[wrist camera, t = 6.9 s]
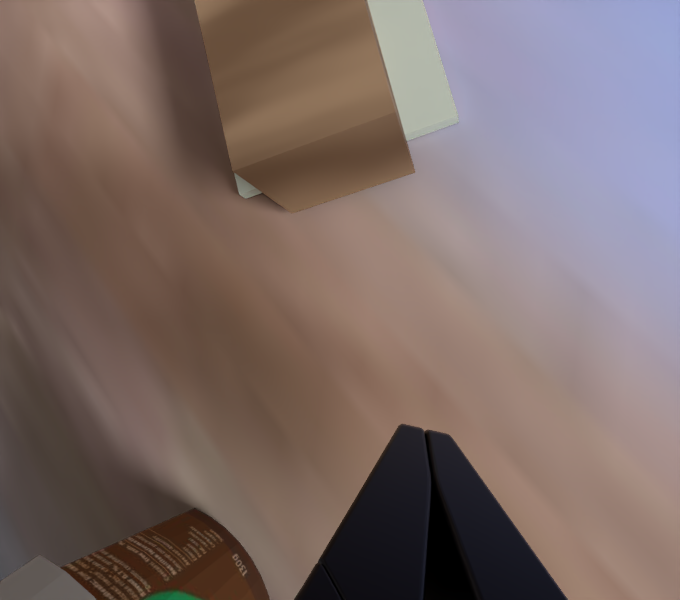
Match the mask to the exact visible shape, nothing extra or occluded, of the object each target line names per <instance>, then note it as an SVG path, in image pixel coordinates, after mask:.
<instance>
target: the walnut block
mask: <svg viewBox="0 0 680 600" xmlns="http://www.w3.org/2000/svg"><path fill="white" fill-rule="evenodd" d="M194 1H195V5H196V10H197V14H198V19H199V23H200V28H201V32H202V37H203V41H204V46H205V50H206V55H207V59H208V64H209V68H210V73H211V77H212V82H213V86H214V91H215V95H216V100H217V104H218V109H219V113H220V118H221V122H222V127H223V131H224V136H225V140H226V145H227V149H228V154H229V158H230V163H231V167H232V171H233V172H234V173H236V174H237V175H238V176H240V177H241V178H243V179H244V180H245V181H247V182H248V183H250V184H251V185H252V186H254V187H255V188H257V189H258V190H259V191H261V192H262V193H264V194H265V195H266V196H268V197H269V198H271V199H272V200H273V201H275V202H276V203H278V204H279V205H281V206H282V207H283V208H285V209H286V210H288V211H289V212H290V213H295V212H298V211H301V210H304V209H307V208H310V207H313V206H316V205H319V204H322V203H325V202H328V201H331V200H334V199H337V198H340V197H343V196H346V195H349V194H352V193H355V192H358V191H361V190H364V189H367V188H370V187H373V186H376V185H379V184H382V183H385V182H388V181H391V180H394V179H397V178H400V177H403V176H406V175H409V174H412V173H415V169H414V166H413V162H412V159H411V155H410V152H409V148H408V144H407V141H406V137H405V134H404V130H403V127H402V123H401V119H400V116H399V112H398V109H397V105H396V102H395V98H394V94H393V91H392V87H391V84H390V80H389V77H388V73H387V69H386V66H385V62H384V59H383V55H382V52H381V48H380V44H379V41H378V37H377V34H376V30H375V27H374V23H373V19H372V16H371V12H370V9H369V5H368V2H367V0H194Z"/></svg>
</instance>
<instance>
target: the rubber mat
mask: <svg viewBox="0 0 680 600" xmlns="http://www.w3.org/2000/svg"><path fill="white" fill-rule="evenodd" d="M194 2H195V1H194ZM367 2H368V5H369V9H370V12H371V16H372V19H373V23H374V27H375V30H376V34H377V37H378V41H379V44H380V48H381V52H382V55H383V59H384V62H385V66H386V69H387V73H388V77H389V80H390V84H391V87H392V91H393V94H394V98H395V102H396V105H397V109H398V112H399V116H400V119H401V123H402V127H403V130H404V134H405V137H406V141H408V140H411V139H414V138H417V137H420V136H422V135H425V134H428V133H431V132H433V131H436V130H439V129H442V128H445V127H447V126H450V125H453V124H456V123H459V121H458V113H457V110H456V107H455V103H454V100H453V97H452V94H451V91H450V87H449V84H448V81H447V78H446V74H445V71H444V68H443V65H442V61H441V58H440V55H439V52H438V49H437V45H436V42H435V39H434V36H433V32H432V29H431V26H430V23H429V19H428V16H427V13H426V10H425V7H424V3H423V0H367ZM195 6H196V5H195ZM197 15H198V14H197ZM234 174H235V178H236V183H237V187H238V191H239V195H241V196H242V197H244V198H245V199H247V198H249V197H252V196H255V195H258V194H261V193H262V192H261V191H259V190H258V189H257V188H255V187H254V186H252V185H251V184H250V183H248V182H247V181H245V180H244V179H243V178H241V177H240V176H238V175H237V174H236V173H234Z"/></svg>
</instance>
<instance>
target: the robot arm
mask: <svg viewBox="0 0 680 600" xmlns="http://www.w3.org/2000/svg"><path fill="white" fill-rule="evenodd" d="M294 600H568V599H567V598H566V596H565V595H564V594H563V592H562V591H561V589H560V588H559V587H558V585H557V584H556V582H555V581H554V580H553V578H552V577H551V575H550V574H549V573H548V571H547V570H546V568H545V567H544V566H543V564H542V563H541V561H540V560H539V559H538V557H537V556H536V554H535V553H534V552H533V550H532V549H531V547H530V546H529V545H528V543H527V542H526V540H525V539H524V538H523V536H522V535H521V533H520V532H519V531H518V529H517V528H516V526H515V525H514V524H513V522H512V521H511V519H510V518H509V517H508V515H507V514H506V512H505V511H504V510H503V508H502V507H501V505H500V504H499V503H498V501H497V500H496V498H495V497H494V496H493V494H492V493H491V491H490V490H489V489H488V487H487V486H486V485H485V483H484V482H483V480H482V479H481V478H480V476H479V475H478V473H477V472H476V471H475V469H474V468H473V466H472V465H471V464H470V462H469V461H468V459H467V458H466V457H465V455H464V454H463V452H462V451H461V450H460V448H459V447H458V445H457V444H456V443H455V441H454V440H453V438H452V437H451V436H450V435H448V434H446V433H441V432H437V431H432V430H426V431H425V432H424V430H423V429H422V428H419V427H415V426H410V425H406V424H401V425H399V426H398V428H397V430H396V431H395V433H394V435H393V436H392V438H391V440H390V441H389V443H388V445H387V446H386V448H385V450H384V451H383V453H382V455H381V456H380V458H379V460H378V462H377V463H376V465H375V467H374V468H373V470H372V472H371V473H370V475H369V477H368V478H367V480H366V482H365V483H364V485H363V487H362V488H361V490H360V492H359V493H358V495H357V497H356V498H355V500H354V502H353V503H352V505H351V507H350V508H349V510H348V512H347V514H346V515H345V517H344V519H343V520H342V522H341V524H340V525H339V527H338V529H337V530H336V532H335V534H334V535H333V537H332V539H331V540H330V542H329V544H328V545H327V547H326V549H325V550H324V552H323V554H322V555H321V557H320V559H319V561H318V563H317V564H316V565H315V566H314V568H313V570H312V571H311V573H310V575H309V577H308V578H307V580H306V582H305V583H304V585H303V586H302V588H301V589H300V591H299V593H298V594H297V596H296V597H295V599H294Z"/></svg>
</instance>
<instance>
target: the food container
mask: <svg viewBox="0 0 680 600" xmlns="http://www.w3.org/2000/svg"><path fill="white" fill-rule="evenodd" d="M0 600H270V599H269V595H268V592H267V590H266V587H265V585H264V582H263V580H262V577H261V575H260V573H259V571H258V569H257V568H256V566H255V564H254V562H253V560H252V559H251V557H250V556H249V555H248V553H247V552H246V550H245V549H244V548H243V546H242V545H241V544H240V542H239V541H238V540H237V539H236V538H235V537H234V536H233V535H232V534H231V533H230V532H229V531H228V530H227V529H226V528H224V527H223V526H222V525H220V524H219V523H218V522H216V521H215V520H214V519H212V518H211V517H209V516H207V515H205V514H204V513H202V512H200V511H198V510H196V509H192V510H189V511H187V512H185V513H182V514H180V515H178V516H176V517H173V518H171V519H169V520H167V521H164V522H162V523H160V524H158V525H155V526H153V527H151V528H149V529H146V530H144V531H142V532H140V533H137V534H135V535H133V536H130V537H128V538H126V539H124V540H121V541H119V542H117V543H115V544H112V545H110V546H108V547H106V548H103V549H101V550H99V551H97V552H94V553H92V554H90V555H87V556H85V557H83V558H81V559H78V560H76V561H74V562H72V563H69V564H67V565H65V566H63V567H58V566H57V565H55V564H53V563H52V562H50V561H49V560H47V559H46V558H44V557H43V556H41V555H38V556H37V557H35V558H34V559H33V560H31V561H30V562H28V563H27V564H25V565H24V566H22V567H21V568H19V569H18V570H16V571H15V572H13V573H12V574H10V575H9V576H7V577H6V578H4V579H3V580H1V581H0Z"/></svg>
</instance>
